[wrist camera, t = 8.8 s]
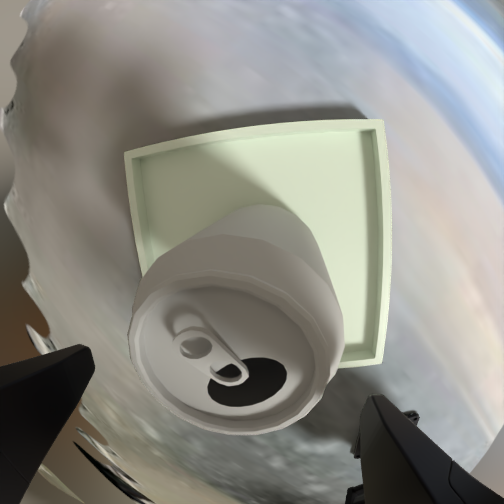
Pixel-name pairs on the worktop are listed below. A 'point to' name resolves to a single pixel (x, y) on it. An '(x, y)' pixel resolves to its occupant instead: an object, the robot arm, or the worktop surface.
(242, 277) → the can
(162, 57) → the worktop surface
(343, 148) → the tray
